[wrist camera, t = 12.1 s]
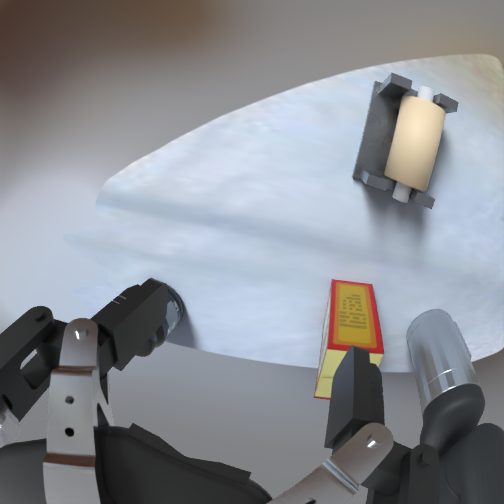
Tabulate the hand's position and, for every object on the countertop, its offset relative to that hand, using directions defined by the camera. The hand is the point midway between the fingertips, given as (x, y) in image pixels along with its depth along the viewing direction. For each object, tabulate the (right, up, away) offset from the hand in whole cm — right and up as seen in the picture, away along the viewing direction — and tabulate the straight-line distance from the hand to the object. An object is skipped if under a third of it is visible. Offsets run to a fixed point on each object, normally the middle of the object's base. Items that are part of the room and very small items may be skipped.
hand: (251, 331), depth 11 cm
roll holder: (+20, +18, +20) cm, 34 cm away
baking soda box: (+15, -6, +32) cm, 36 cm away
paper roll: (+18, +17, +17) cm, 30 cm away
